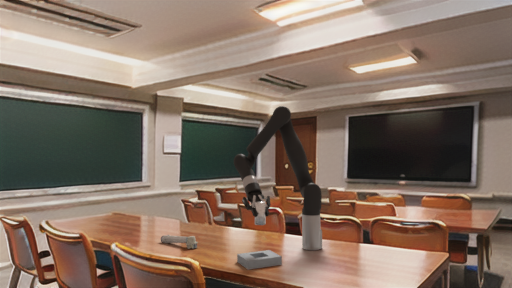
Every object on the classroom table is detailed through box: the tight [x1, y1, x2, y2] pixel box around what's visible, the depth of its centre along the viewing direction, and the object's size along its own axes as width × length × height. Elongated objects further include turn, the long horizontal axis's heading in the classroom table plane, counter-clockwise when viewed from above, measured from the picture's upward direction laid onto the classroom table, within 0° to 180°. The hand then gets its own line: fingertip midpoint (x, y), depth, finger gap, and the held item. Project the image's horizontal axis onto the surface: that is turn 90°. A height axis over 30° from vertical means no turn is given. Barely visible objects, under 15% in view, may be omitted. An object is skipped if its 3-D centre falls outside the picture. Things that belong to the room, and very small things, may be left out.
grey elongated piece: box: [160, 234, 199, 250], centre depth 188 cm, size 5×7×25 cm
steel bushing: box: [254, 201, 267, 226], centre depth 162 cm, size 5×5×10 cm
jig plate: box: [236, 249, 283, 270], centre depth 155 cm, size 16×12×4 cm
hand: (261, 215), depth 160 cm, fingers closed on steel bushing, 5 cm apart
